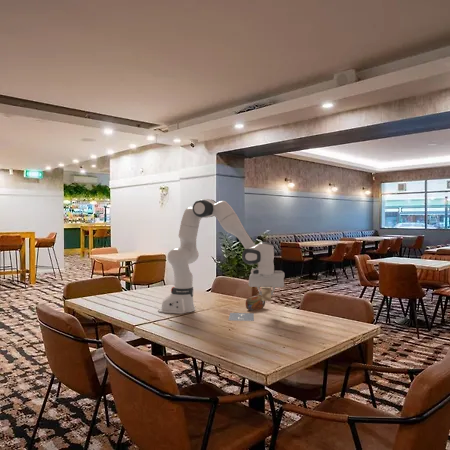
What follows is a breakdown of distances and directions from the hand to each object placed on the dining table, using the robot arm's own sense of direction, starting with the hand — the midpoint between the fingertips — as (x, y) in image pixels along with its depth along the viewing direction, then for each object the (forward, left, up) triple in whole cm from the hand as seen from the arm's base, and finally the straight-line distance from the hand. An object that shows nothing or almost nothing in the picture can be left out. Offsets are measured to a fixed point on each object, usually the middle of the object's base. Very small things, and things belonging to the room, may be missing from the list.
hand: (266, 294), depth 230 cm
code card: (-14, 0, -13) cm, 19 cm away
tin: (-6, +20, -13) cm, 25 cm away
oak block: (0, 0, -2) cm, 2 cm away
